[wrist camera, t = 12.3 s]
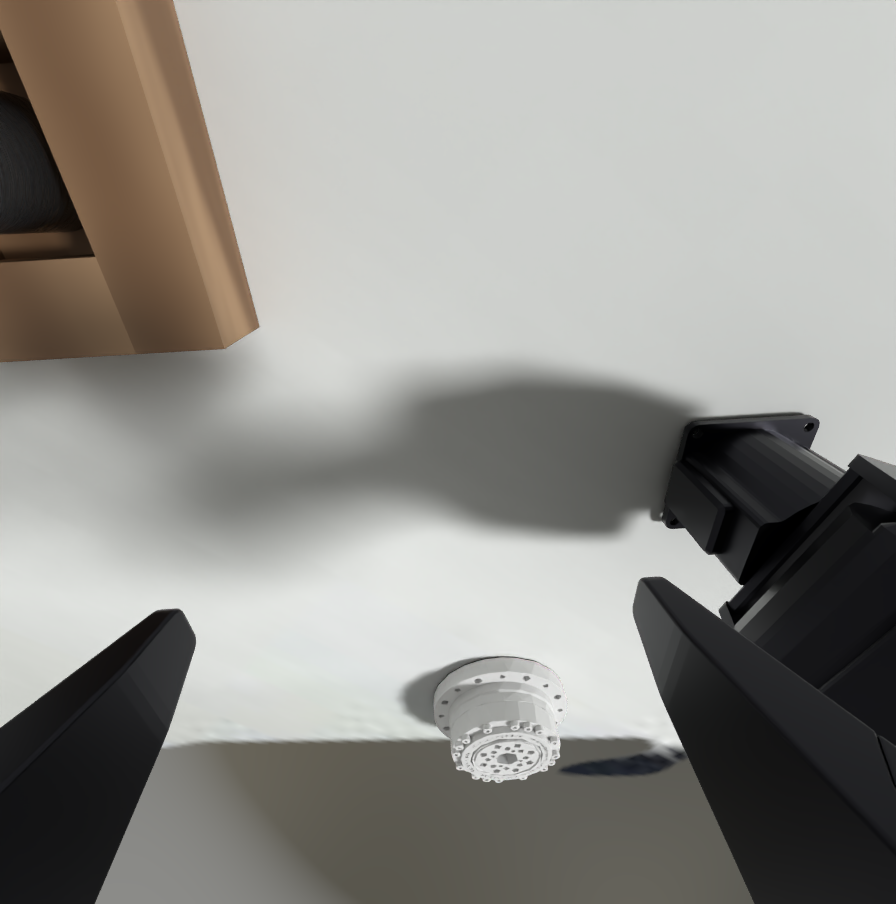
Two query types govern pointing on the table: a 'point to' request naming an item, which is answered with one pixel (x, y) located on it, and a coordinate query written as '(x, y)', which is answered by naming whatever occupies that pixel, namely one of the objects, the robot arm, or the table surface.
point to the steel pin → (30, 175)
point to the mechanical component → (501, 717)
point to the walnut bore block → (118, 190)
